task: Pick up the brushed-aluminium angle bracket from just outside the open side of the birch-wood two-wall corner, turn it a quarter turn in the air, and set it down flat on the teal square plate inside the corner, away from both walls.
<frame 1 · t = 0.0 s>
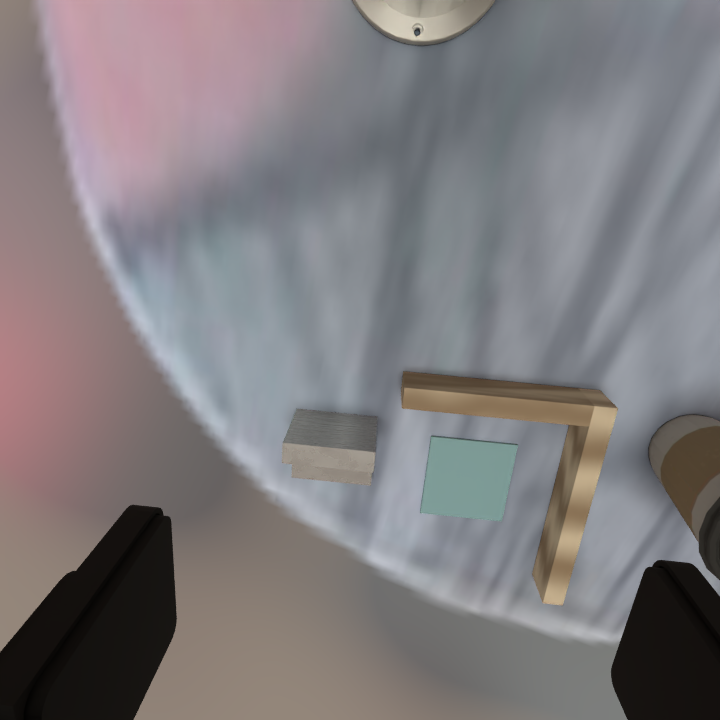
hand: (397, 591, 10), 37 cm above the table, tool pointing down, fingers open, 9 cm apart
wooden l-shaped piece: (479, 480, 51), on the table
teal square plate: (445, 441, 50), on the table
bracket: (376, 425, 50), on the table
coffee cup: (684, 446, 49), on the table
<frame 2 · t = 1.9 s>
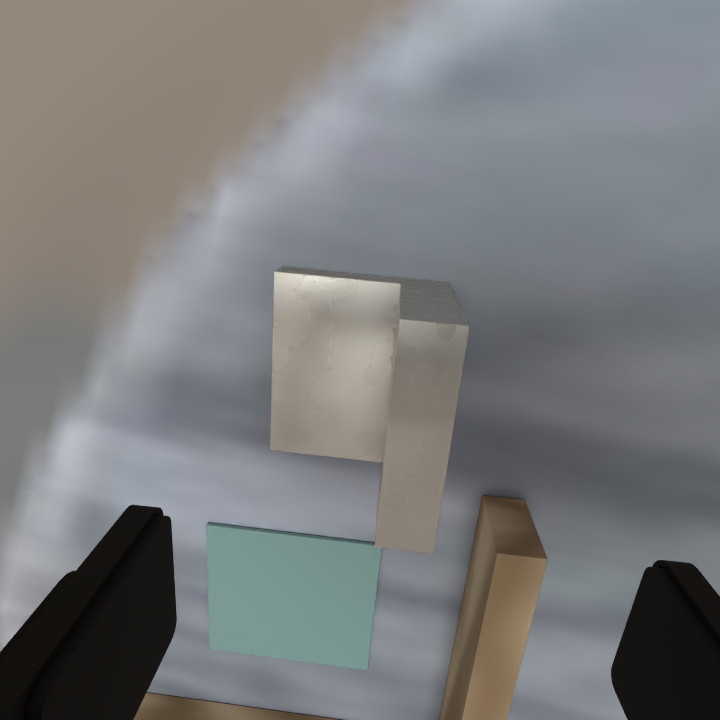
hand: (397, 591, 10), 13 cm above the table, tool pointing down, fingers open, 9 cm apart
wooden l-shaped piece: (290, 615, 27), on the table
teal square plate: (369, 566, 26), on the table
bracket: (403, 448, 24), on the table
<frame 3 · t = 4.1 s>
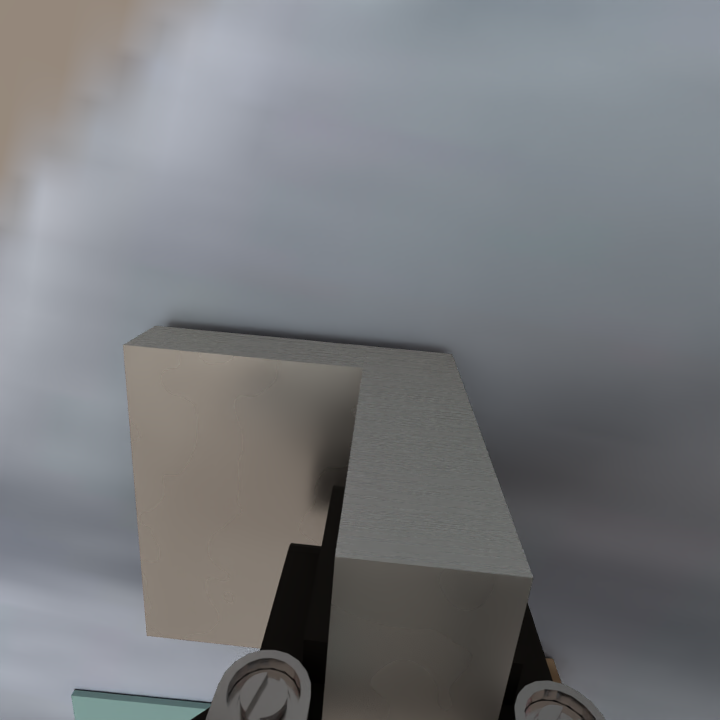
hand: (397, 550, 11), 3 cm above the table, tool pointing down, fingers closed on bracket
bracket: (377, 614, 14), point 1 cm above the table, touching gripper
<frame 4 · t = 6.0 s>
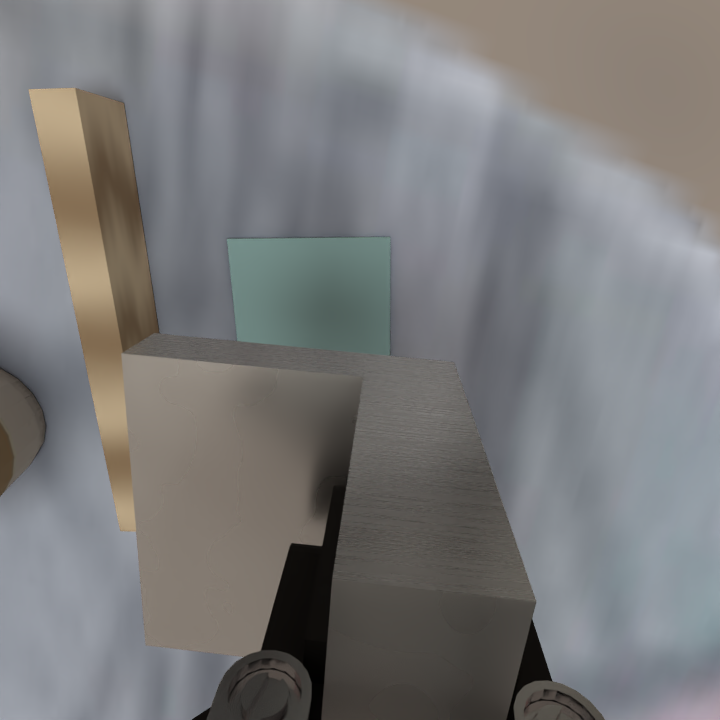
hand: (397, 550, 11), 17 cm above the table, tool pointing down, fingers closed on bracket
wooden l-shaped piece: (290, 321, 28), on the table
teal square plate: (363, 389, 29), on the table
bracket: (378, 623, 14), point 16 cm above the table, touching gripper
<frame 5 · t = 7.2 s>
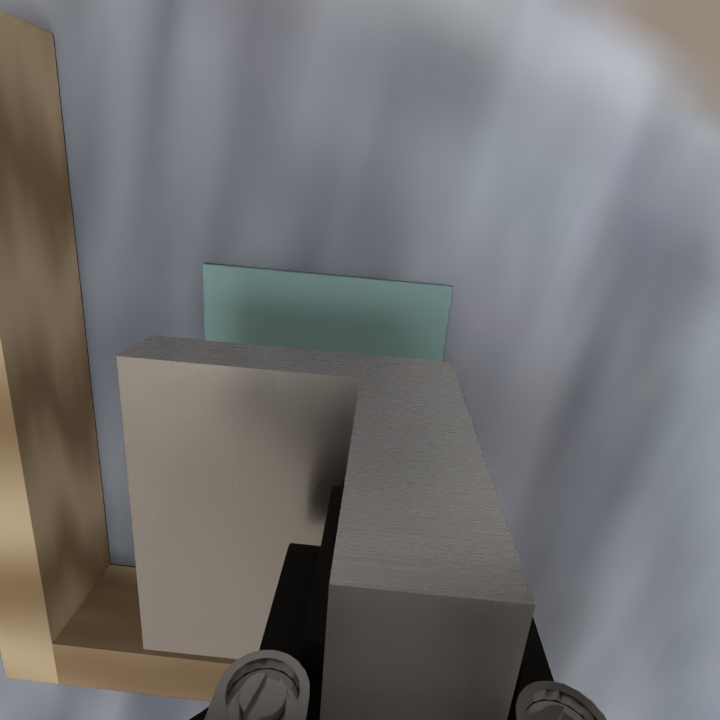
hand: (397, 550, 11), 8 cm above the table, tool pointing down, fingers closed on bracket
wooden l-shaped piece: (287, 391, 19), on the table
teal square plate: (384, 494, 20), on the table
bracket: (377, 625, 14), point 6 cm above the table, touching gripper
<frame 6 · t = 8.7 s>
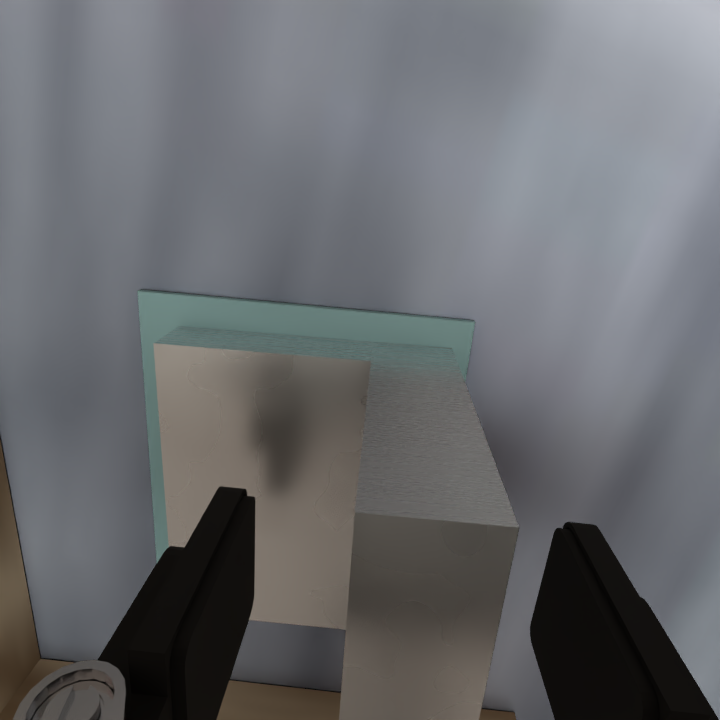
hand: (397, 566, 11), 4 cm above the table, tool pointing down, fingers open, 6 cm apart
wooden l-shaped piece: (255, 454, 14), on the table
teal square plate: (382, 580, 15), on the table
bracket: (385, 592, 15), resting on teal square plate
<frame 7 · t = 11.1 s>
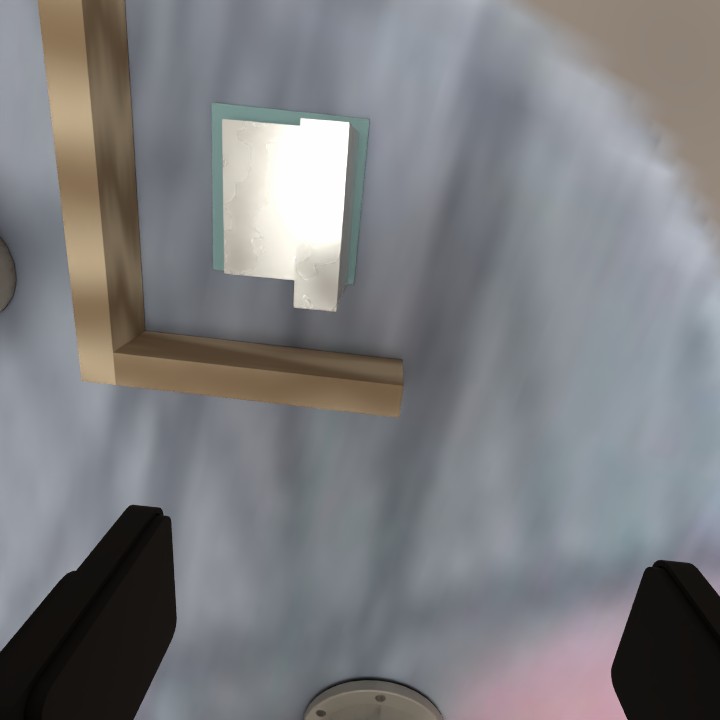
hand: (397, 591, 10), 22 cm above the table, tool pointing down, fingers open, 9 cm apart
wooden l-shaped piece: (265, 196, 29), on the table
teal square plate: (329, 273, 30), on the table
bracket: (331, 278, 30), resting on teal square plate
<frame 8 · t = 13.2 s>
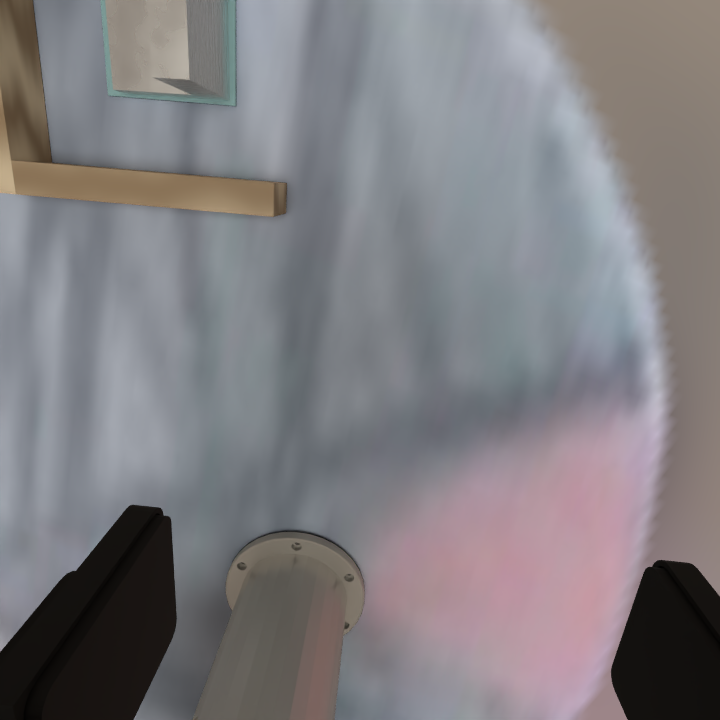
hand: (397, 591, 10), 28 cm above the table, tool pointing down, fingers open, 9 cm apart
wooden l-shaped piece: (150, 20, 32), on the table
teal square plate: (213, 95, 33), on the table
bracket: (214, 99, 33), resting on teal square plate
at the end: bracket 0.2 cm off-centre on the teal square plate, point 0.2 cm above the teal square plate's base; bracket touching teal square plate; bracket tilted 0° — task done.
